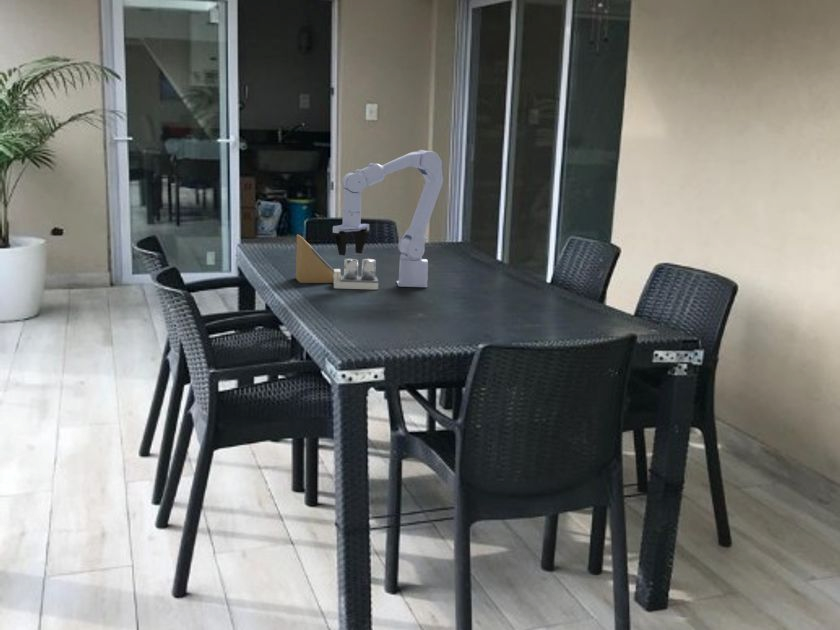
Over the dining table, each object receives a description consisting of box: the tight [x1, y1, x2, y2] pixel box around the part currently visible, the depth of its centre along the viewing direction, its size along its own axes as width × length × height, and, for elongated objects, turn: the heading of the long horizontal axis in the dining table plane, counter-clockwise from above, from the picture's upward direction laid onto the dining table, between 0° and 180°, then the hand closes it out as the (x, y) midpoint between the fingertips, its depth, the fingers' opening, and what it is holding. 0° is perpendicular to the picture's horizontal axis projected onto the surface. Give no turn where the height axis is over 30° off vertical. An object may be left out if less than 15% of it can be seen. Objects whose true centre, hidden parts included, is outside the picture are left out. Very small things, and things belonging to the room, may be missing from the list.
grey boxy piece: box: [333, 268, 379, 290], centre depth 281 cm, size 14×9×5 cm, turn 97°
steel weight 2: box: [360, 258, 377, 280], centre depth 281 cm, size 4×4×6 cm
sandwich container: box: [295, 233, 335, 284], centre depth 287 cm, size 9×15×15 cm, turn 107°
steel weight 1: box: [343, 258, 359, 280], centre depth 280 cm, size 4×4×6 cm
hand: (350, 254), depth 279 cm, fingers open, 7 cm apart
